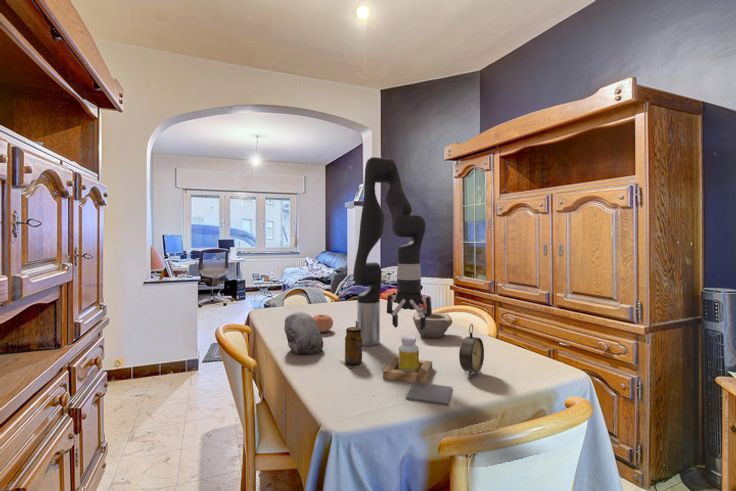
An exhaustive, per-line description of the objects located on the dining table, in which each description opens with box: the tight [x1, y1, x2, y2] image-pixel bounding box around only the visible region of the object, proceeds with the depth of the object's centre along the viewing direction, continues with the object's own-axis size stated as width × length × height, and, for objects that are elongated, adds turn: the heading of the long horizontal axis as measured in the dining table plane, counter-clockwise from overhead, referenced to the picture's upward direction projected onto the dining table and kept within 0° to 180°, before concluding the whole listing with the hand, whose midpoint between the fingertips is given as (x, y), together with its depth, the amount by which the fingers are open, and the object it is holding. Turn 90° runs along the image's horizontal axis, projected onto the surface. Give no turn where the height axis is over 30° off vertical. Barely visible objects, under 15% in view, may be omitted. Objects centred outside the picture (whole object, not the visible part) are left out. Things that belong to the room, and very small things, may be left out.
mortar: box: [412, 312, 453, 339], centre depth 162 cm, size 17×17×9 cm
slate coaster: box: [405, 382, 453, 406], centre depth 103 cm, size 11×11×1 cm
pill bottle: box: [398, 335, 420, 372], centre depth 118 cm, size 6×6×12 cm
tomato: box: [311, 313, 334, 334], centre depth 169 cm, size 11×11×8 cm
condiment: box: [340, 326, 369, 369], centre depth 127 cm, size 7×8×12 cm
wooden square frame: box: [382, 356, 433, 384], centre depth 118 cm, size 13×14×2 cm
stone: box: [283, 311, 324, 355], centre depth 140 cm, size 12×15×15 cm
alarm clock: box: [458, 323, 485, 380], centre depth 117 cm, size 11×5×16 cm, turn 143°
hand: (409, 327), depth 118 cm, fingers open, 8 cm apart
